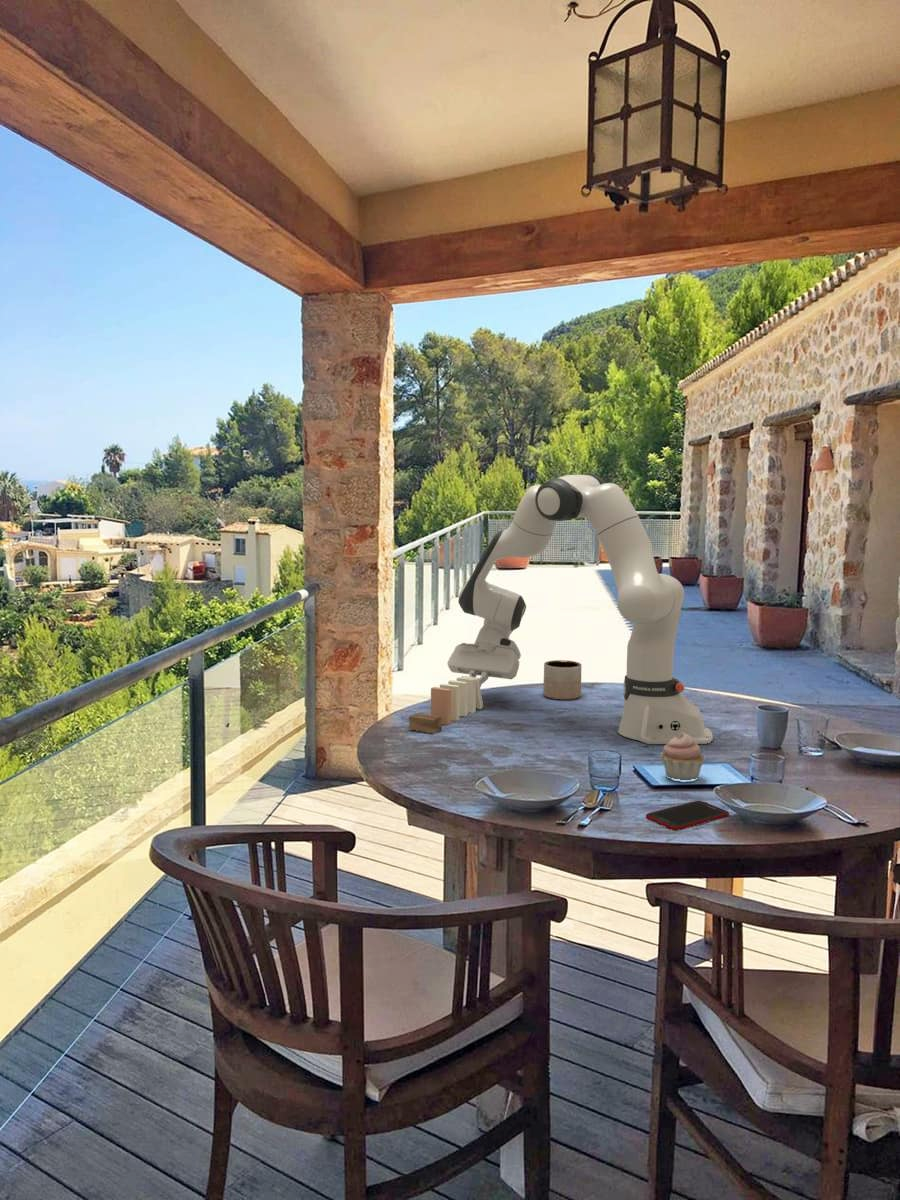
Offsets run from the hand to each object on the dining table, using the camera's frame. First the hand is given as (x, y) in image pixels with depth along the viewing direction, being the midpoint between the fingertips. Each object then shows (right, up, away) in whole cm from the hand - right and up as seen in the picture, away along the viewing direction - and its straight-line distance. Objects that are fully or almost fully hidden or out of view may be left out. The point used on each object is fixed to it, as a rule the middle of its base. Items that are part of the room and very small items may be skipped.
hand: (474, 686), depth 245 cm
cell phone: (+37, -17, -79) cm, 89 cm away
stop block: (-13, -9, -22) cm, 27 cm away
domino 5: (0, -5, +1) cm, 6 cm away
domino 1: (-9, -8, -15) cm, 19 cm away
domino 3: (-4, -7, -7) cm, 11 cm away
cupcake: (+42, -14, -57) cm, 72 cm away
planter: (+26, -4, +15) cm, 30 cm away
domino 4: (-2, -6, -3) cm, 7 cm away
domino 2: (-7, -7, -11) cm, 15 cm away
